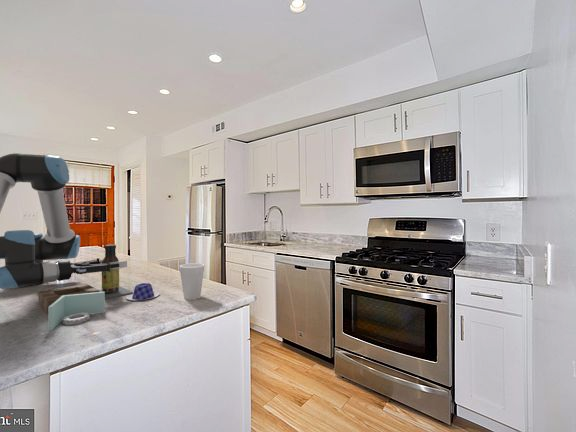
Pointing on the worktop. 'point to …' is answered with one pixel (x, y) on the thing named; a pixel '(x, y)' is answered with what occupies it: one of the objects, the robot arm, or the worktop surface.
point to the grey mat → (117, 293)
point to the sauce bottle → (110, 278)
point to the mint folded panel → (75, 308)
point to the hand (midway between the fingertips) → (121, 262)
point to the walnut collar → (52, 295)
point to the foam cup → (192, 280)
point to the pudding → (143, 292)
